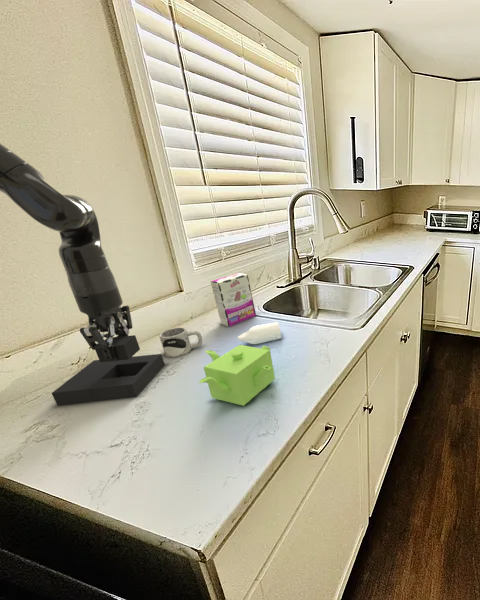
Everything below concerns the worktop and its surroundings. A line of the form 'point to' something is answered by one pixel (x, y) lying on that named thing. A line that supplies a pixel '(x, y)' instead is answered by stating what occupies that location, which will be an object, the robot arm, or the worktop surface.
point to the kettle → (239, 373)
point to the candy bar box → (233, 299)
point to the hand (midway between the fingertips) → (120, 354)
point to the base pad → (109, 380)
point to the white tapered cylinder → (261, 333)
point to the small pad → (122, 348)
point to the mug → (178, 341)
